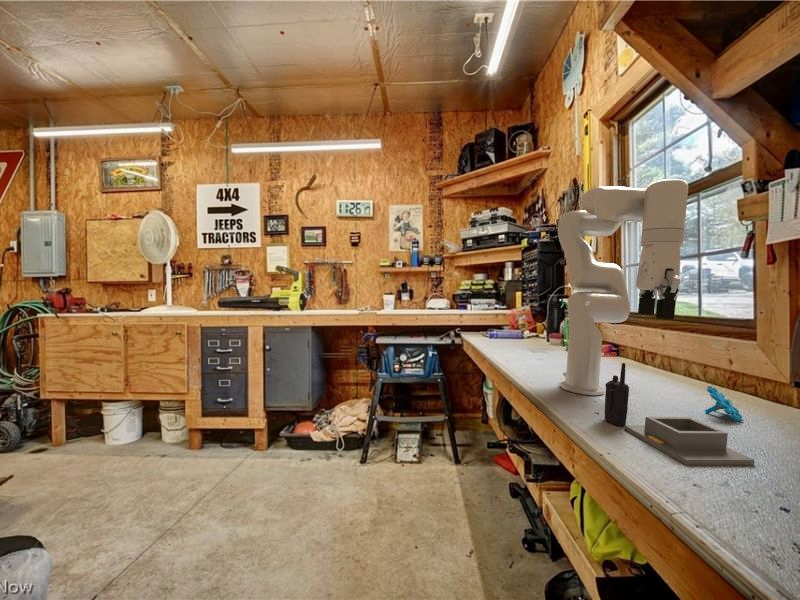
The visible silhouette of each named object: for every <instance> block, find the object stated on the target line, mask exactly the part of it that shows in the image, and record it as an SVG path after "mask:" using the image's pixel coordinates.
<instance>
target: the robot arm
mask: <svg viewBox="0 0 800 600" xmlns="http://www.w3.org/2000/svg"><path fill="white" fill-rule="evenodd" d="M688 194H689V184H688V183H687V181H685V180H684V179H678V178H677V179H676V178H671V179H669V178H667V179H661V180H657V181H654V182H651V183H650V184H648V185H647V186H646V188H631V187H628V186H627V187H626V186H606V185H605V186H602V185H600V186H595V187H591V188H589V189H588V190H586V191H585V193H584V194H583V195H582V197H581V200H580V202H581V203H580V204H581V207H582V209H583V210H582V209H581V210H571V211H567V212H565V213H563V214H562V215H561V216H560V218H559V220H558V224H557V235H558V239H559V240H558V241H559V243H560V246H561V248H562V250H563V253H564V255H565V256H564V257H565V260H566V270H567V278H568V282H569V285H570V287H571V288H572V289H573V290H576V291H577V292H574V293H572V294H571V295H570V296H569V297H568V299H567V304H566V305H567V315H568V340H567V341H568V342H567V343H568V344H567V359H566V371H565V372H563V373H562V377H565V380H563V381H561V382H560V383H559V385H560V388H561V389H563V390H565V391H568V392H570V393H574V394H578V395H584V396H586V395H587V396H601V395H605V389H604V388H603V387H602V386H600V379H601V378H600V375H601V361H602V348H603V335H602V332H601V331H600V329H599V328H598V326H597V325H596V323H611V324H612V323H614V324H619V323H623V322H625V321H627V320H628V318H629V316H630V313H631V304H630V303H631V302H630V299H629V294H628V289H627V284H626V279H625V275H624V272H623V270H622V268H621V267H620V266H619V265H617V264H616V263H610V262H597V261H596V260H595V254H594V251H593V248H592V247H591V245H589V243H588V242H587V241H586V240H584V238H582V237H593V238H594V237H600V238H604V237H610V236H612V235H614V234H615V232H617V231H618V229H619V228H620V227H621V226H622V225H623V223H624V222H639V223H640V222H641V223H642V224H641V234H640V235H641V237H640V247H642V248H641V250H640V255H639V256H640V257H639V261H638V268H637V275H636V280H635V281H636V283H635V286H636V288H637V289H638V290H639V293H638V296H639V298H638V307H637V308H638V310H637V314H638V315H643V316H644V315H647V316H655V318H657V319H662V320H674V319H675V314H676V313H675V312H676V305H677V304H676V303H677V299H678V295H677V294H678V293H679V291H680V290H679V286H680V283H681V278H680V273H681V272H680V271H681V246H684V236H685V226H686V214H687V206H688V205H687V204H688ZM656 293H657V294H658V299H656V298H655V295H656Z"/></svg>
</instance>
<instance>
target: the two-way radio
mask: <svg viewBox="0 0 800 600" xmlns="http://www.w3.org/2000/svg"><path fill="white" fill-rule="evenodd" d="M625 381H626V363H625V362H622V363H621V368H620V377H618V375H615V374H614V375H612V380H609V381H607V382H606V383H605V392H604V395H605V397H604V399H605V400H604V420H605V421H607V422H609V423H611V424H612V425H616V426H617V425H620V426H619V427H621V426H622V427H623V426H624V427H625V425H627V416H628V410H629V406H628V404H629V397H630V387H629V385H628V384H627V383H626V382H625Z"/></svg>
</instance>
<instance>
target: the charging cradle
mask: <svg viewBox="0 0 800 600" xmlns="http://www.w3.org/2000/svg"><path fill="white" fill-rule="evenodd" d="M644 420H645V421H644V425H641V424H640V425H635V424H634V425H633V424H632V425H628V424H626V425H625V426H624V429H626V430H627V432H628V431H629V432H628V433H630V434H631V433H632V434H631V435H633V434H634V435H633V436H634V437H637V438H638V437H639V439H640V438H641V439H640V440H642V441H643V440H644V442H645V441H646V442H645V443H647V442H648V443H647V444H649V443H650V444H651V446H652V445H653V448H656V449H657V450H659V451H660V452H662V453H665V454H666V455H668V456H670V457H671V458H673V459H675V460H676V461H679V463H682V464H684V465H686V466H755V459H753V458H751V457H749V456H747V455H744V454H742V453H741V452H738V451H736V450H734V449H732V448H730V447H727V446H728V445H727V444H728V435H729V433H727V432H725V431H723V430H721V429H719V428H716V427H715V426H714V427H713V426H711V425H709V424H706V423H704V422H702V421H700V420H697V419H694V418H692V417H689V416H687V417H686V416H645V419H644ZM626 430H625V431H626ZM650 444H649V445H650Z"/></svg>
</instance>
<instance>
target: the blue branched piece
mask: <svg viewBox="0 0 800 600" xmlns="http://www.w3.org/2000/svg"><path fill="white" fill-rule="evenodd" d="M706 391H707V392H708V393H709V396H710V397H711V399H713V400H714V401H715V403H714V404H715V405H713V406H710V407H709V408H706V409H705V410H704V411H703V412H705V413H706V414H711V413H712V412H717V411H719V410H723V412H724V413H725V414H727V415H730V417H731V418H732V419H733V420H734V421H737V422H742V421H744V419H743V416H742V414H740V411H739V410H738V408H737V407H735V406H734V404H733V403H732V402H733V401H732V400H731V399H730V398H725V397H726V396H725V394H724V393H722V392H719V390H718V389H717V388H716V387H713V386H711V385H709V386H707V388H706Z"/></svg>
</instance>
